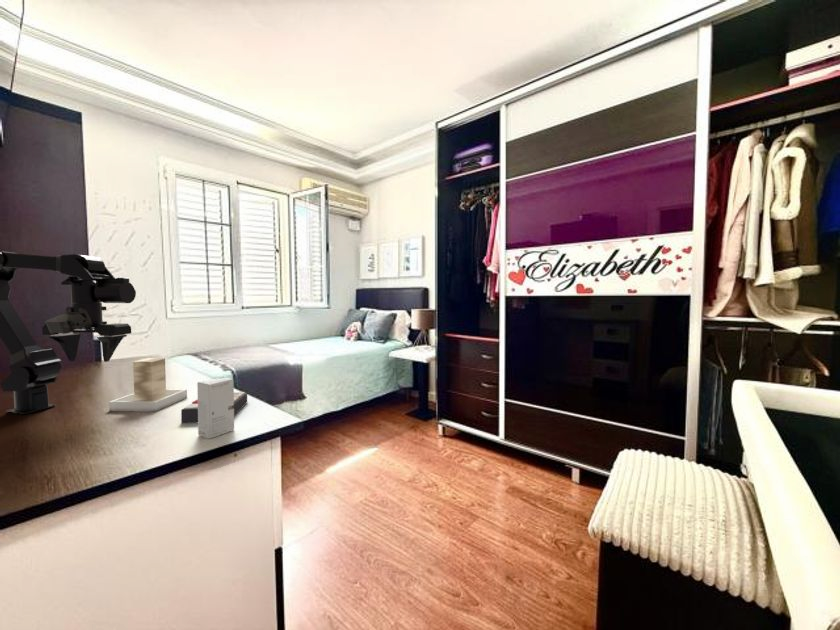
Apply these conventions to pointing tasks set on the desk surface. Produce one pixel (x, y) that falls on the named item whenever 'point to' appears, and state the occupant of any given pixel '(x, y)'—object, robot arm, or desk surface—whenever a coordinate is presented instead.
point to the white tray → (131, 405)
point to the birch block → (149, 379)
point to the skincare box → (215, 407)
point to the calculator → (191, 411)
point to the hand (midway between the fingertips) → (89, 361)
